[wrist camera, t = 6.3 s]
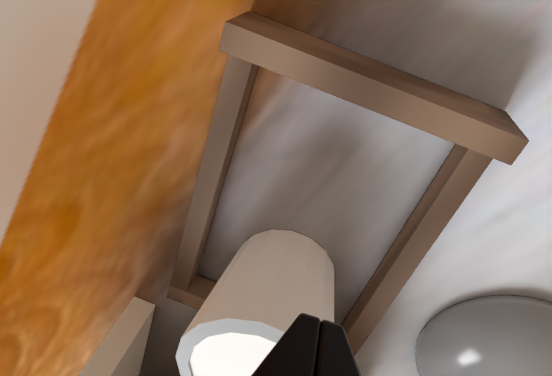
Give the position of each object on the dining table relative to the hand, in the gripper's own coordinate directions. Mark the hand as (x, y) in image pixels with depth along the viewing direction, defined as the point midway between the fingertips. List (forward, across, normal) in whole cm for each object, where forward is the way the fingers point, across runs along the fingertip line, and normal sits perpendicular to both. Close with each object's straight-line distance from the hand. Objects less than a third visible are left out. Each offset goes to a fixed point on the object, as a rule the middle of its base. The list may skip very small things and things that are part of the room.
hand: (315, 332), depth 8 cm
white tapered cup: (+12, +1, +9) cm, 15 cm away
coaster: (+12, -12, +11) cm, 20 cm away
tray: (+12, +1, +6) cm, 13 cm away
